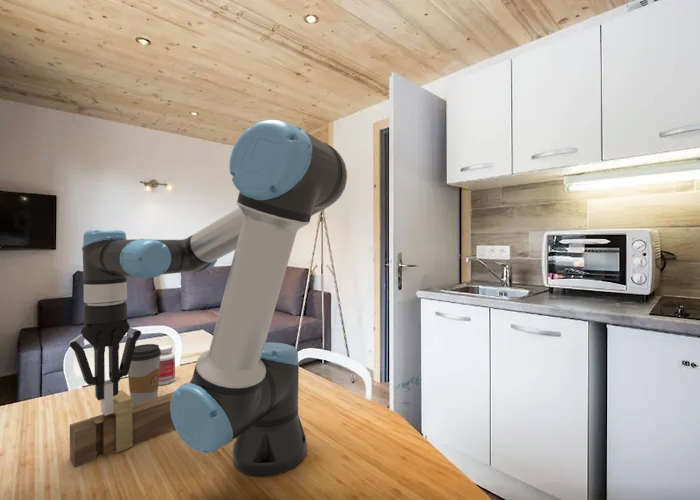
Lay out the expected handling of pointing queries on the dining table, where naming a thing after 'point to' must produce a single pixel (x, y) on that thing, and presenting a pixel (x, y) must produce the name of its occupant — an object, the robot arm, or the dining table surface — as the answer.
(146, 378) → the coffee cup
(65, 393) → the dining table surface
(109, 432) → the tong arm
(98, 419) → the base
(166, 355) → the pill bottle
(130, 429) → the lock collar
